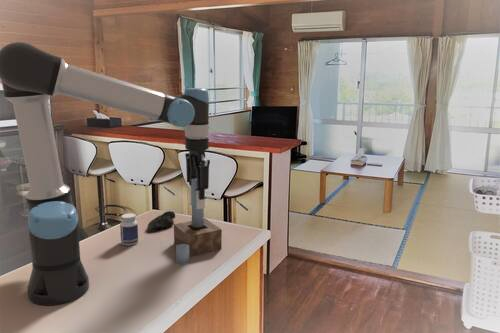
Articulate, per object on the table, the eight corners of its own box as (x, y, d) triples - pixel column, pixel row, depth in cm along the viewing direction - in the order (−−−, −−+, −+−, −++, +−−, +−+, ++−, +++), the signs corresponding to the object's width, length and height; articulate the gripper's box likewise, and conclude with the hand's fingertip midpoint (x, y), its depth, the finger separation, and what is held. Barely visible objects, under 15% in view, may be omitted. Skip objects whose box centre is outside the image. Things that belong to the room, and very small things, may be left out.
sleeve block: (188, 256, 137) (188, 236, 136) (174, 243, 147) (173, 224, 146) (221, 248, 144) (221, 229, 142) (205, 236, 154) (205, 218, 152)
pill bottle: (141, 242, 148) (140, 214, 145) (129, 247, 143) (127, 219, 141) (130, 238, 151) (129, 211, 148) (117, 243, 146) (116, 216, 144)
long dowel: (194, 228, 141) (194, 181, 137) (189, 224, 144) (189, 178, 141) (205, 225, 143) (205, 179, 140) (200, 222, 146) (200, 177, 143)
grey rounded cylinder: (179, 265, 132) (178, 250, 130) (174, 259, 135) (174, 245, 134) (191, 262, 134) (191, 247, 132) (186, 257, 137) (186, 242, 136)
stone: (141, 230, 159) (140, 217, 157) (167, 220, 169) (167, 207, 168) (153, 235, 155) (152, 221, 154) (179, 224, 165) (179, 211, 164)
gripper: (220, 140, 132) (219, 211, 137) (196, 132, 146) (196, 197, 151) (198, 142, 128) (198, 215, 133) (175, 133, 142) (176, 201, 147)
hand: (197, 206), depth 142 cm, fingers closed on long dowel, 4 cm apart
